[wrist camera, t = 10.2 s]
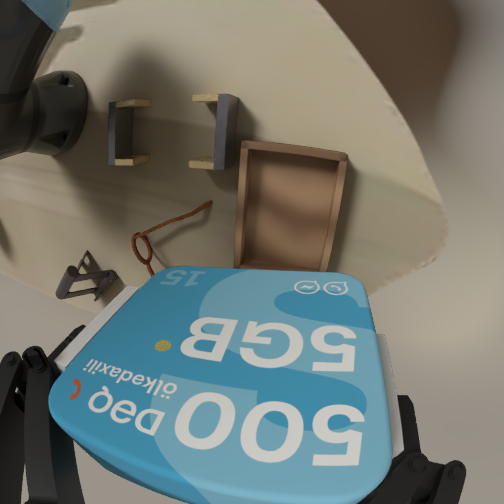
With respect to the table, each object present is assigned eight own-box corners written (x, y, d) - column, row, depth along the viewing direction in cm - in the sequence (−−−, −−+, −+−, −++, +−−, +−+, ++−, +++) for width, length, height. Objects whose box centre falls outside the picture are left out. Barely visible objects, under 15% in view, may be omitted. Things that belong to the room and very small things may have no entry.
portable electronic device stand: (101, 296, 49) (76, 320, 41) (76, 267, 47) (49, 288, 40) (119, 275, 45) (91, 300, 38) (91, 243, 44) (60, 264, 36)
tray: (247, 140, 31) (241, 141, 29) (344, 152, 29) (348, 155, 27) (239, 259, 38) (233, 269, 36) (322, 273, 37) (323, 285, 34)
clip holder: (126, 103, 32) (109, 102, 28) (238, 97, 29) (228, 93, 26) (125, 160, 35) (108, 165, 32) (233, 165, 33) (223, 170, 29)
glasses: (141, 228, 40) (123, 241, 36) (212, 198, 36) (198, 209, 32) (179, 299, 45) (166, 317, 40) (250, 282, 40) (241, 302, 36)
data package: (362, 271, 14) (397, 497, 4) (352, 333, 16) (354, 523, 6) (163, 263, 17) (32, 404, 6) (176, 319, 19) (85, 458, 8)
